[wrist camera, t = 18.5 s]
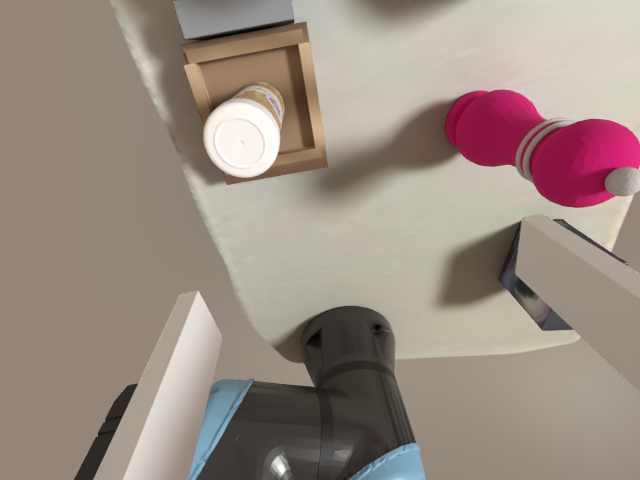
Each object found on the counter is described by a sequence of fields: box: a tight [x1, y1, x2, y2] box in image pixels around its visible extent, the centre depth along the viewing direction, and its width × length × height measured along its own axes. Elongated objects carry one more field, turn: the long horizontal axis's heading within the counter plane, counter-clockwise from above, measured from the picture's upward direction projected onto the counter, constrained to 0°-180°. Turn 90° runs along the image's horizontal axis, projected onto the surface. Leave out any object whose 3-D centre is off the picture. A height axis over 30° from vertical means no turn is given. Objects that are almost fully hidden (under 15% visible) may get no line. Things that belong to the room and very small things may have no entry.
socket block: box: [181, 22, 328, 185], centre depth 31 cm, size 13×11×4 cm
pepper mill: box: [445, 90, 640, 208], centre depth 27 cm, size 7×7×20 cm
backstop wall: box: [173, 0, 294, 40], centre depth 27 cm, size 2×9×5 cm, turn 99°
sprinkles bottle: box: [203, 82, 284, 178], centre depth 25 cm, size 5×5×13 cm
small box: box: [499, 219, 628, 331], centre depth 42 cm, size 11×6×10 cm, turn 0°
